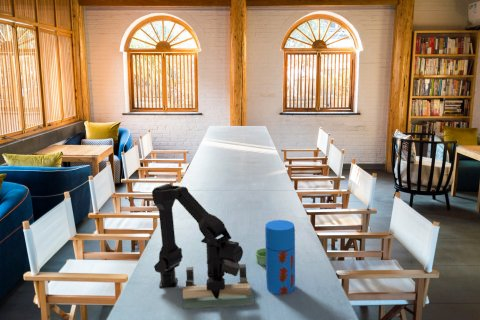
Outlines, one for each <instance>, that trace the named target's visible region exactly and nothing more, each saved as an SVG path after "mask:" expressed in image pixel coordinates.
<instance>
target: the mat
mask: <svg viewBox="0 0 480 320" xmlns="http://www.w3.org/2000/svg"><path fill="white" fill-rule="evenodd" d="M250 293H251V295H241V296H222V297H218V298H217V299H216V298H215V297H203V298H185V299H183V304H182V309H183V310H185V309H186V310H187V309H200V308H202V309H203V308H205V307H206V308H221V307H236V306H237V307H238V306H240V307H241V306H242V307H243V306H254V305H255V300H254V295H253V291H251V290H250Z"/></svg>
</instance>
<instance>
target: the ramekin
mask: <svg viewBox="0 0 480 320" xmlns="http://www.w3.org/2000/svg"><path fill="white" fill-rule="evenodd" d="M255 257H256V262H257V264H258V265H260V266H265V267H266V247H264V248H259V249H257V250H256V251H255Z"/></svg>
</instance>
